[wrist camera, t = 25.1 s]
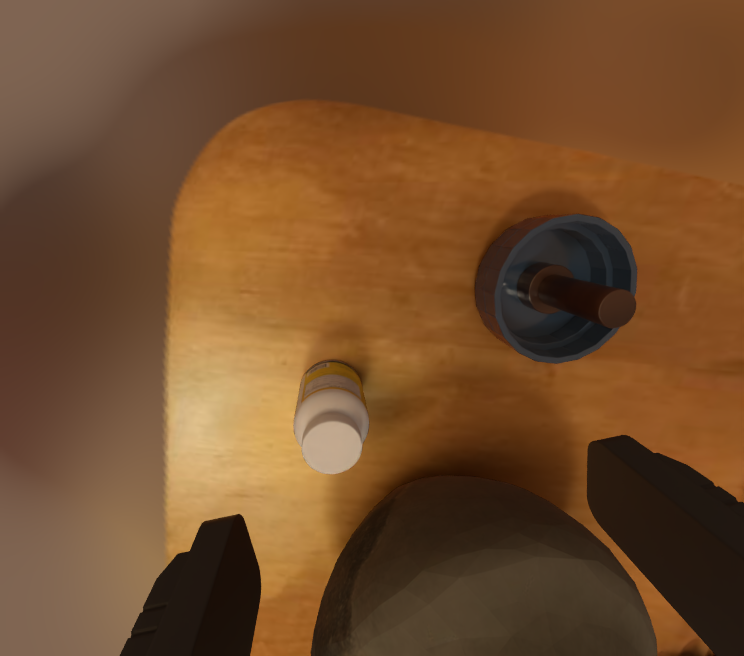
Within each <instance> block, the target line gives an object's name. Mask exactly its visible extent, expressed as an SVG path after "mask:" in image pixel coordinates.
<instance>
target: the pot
mask: <svg viewBox="0 0 744 656" xmlns="http://www.w3.org/2000/svg"><path fill="white" fill-rule="evenodd" d="M311 656H657V642H656V637H655V633H654V630H653V626H652V623H651V620H650V617H649V614H648V612H647V609H646V607H645V605H644V602H643V600H642V597H641V595H640V593H639V591H638V589H637V587H636V585H635V582H634V581H633V580H632V578H631V577H630V576H629V574H628V573H627V572H626V570H625V569H624V568H623V566H622V565H621V564H620V563H619V561H618V560H617V559H616V557H615V556H614V555H613V553H612V552H611V551H610V549H609V548H608V547H607V546H606V545H604V544H603V543H602V542H601V541H600V540H599V539H598V538H597V537H596V536H594V535H593V534H592V533H591V532H590V531H589V530H588V529H587V528H586V527H584V526H583V525H582V524H581V523H579V522H578V521H576V520H575V519H573V518H572V517H571V516H569V515H568V514H566V513H565V512H563V511H562V510H560V509H559V508H558V507H556V506H555V505H553V504H552V503H550V502H549V501H547V500H545V499H543V498H541V497H539V496H537V495H535V494H533V493H531V492H529V491H527V490H525V489H523V488H520V487H517V486H515V485H512V484H509V483H506V482H500V481H495V480H490V479H485V478H479V477H474V476H444V475H441V476H434V477H427V478H420V479H418V480H415V481H412V482H410V483H407V484H405V485H402V486H399V487H397V488H396V489H394V490H393V491H392V492H391V493H390V494H389V495H388V496H386V497H385V498H384V499H383V500H382V501H381V502H380V503H379V504H377V505H376V507H375V508H374V509H373V510H372V511H371V512H370V513H369V514H368V515H367V516H366V517H365V519H364V520H363V522H362V523H361V524H360V526H359V527H358V528H357V529H356V531H355V532H354V533H353V534H352V536H351V538H350V539H349V541H348V543H347V544H346V546H345V548H344V549H343V551H342V553H341V554H340V556H339V558H338V559H337V562H336V564H335V567H334V569H333V571H332V574H331V576H330V579H329V581H328V584H327V586H326V588H325V591H324V594H323V597H322V600H321V604H320V608H319V612H318V616H317V621H316V625H315V629H314V634H313V641H312V648H311Z"/></svg>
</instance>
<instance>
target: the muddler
mask: <svg viewBox="0 0 744 656" xmlns="http://www.w3.org/2000/svg"><path fill="white" fill-rule="evenodd" d="M517 294H518V297H519V299H520V301H521V302H522V303H523V304H524V305H525V306H527V307H529V308H531V309H533V310H536V311H538V312H541V313H544V314H553V313H556V312H559V311H561V310H562V311H565V312H568V313H570V314H573V315H576V316H578V317H581V318H584V319H586V320H589V321H592V322H594V323H597V324H600V325H602V326H605V327H608V328H618V327H621V326H623V325H625V324H626V323H628V322H629V321H630V319H631V318H632V317H633V315H634V313H635V309H636V301H635V298H634V296H633V295H632V294H631V293H630V292H629V291H627V290H624V289H619V288H615V287H610V286H606V285H601V284H597V283H592V282H588V281H584V280H579V279H575V278H574V276H573V274H572V273H571V271H570V270H569V269H567V268H566V267H564V266H561V265H556V264H550V263H544V262H541V263H535V264H533V265H531V266H529V267H528V268H527V269H525V270H524V271H523V273H522V274H521V276H520V277H519V280H518V283H517Z"/></svg>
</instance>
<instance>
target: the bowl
mask: <svg viewBox="0 0 744 656" xmlns="http://www.w3.org/2000/svg"><path fill="white" fill-rule="evenodd" d="M541 262H544V263H550V264H556V265H561V266H564V267H566V268H567V269H569V270H570V271H571V273H572V274H573V276H574V278H575V279H579V280H584V281H588V282H592V283H597V284H601V285H606V286H610V287H615V288H619V289H624V290H627V291H629V292H630V293H631V294H632V295H633V296H635V293H636V285H637V266H636V262H635V259H634V255H633V252H632V248H631V246H630V244H629V243H628V242H627V240H626V239H625V238H624V236H623V235H622V233H621V232H620V231H619V230H618V229H617V228H615V227H614V226H612V225H610V224H609V223H607V222H606V221H604V220H602V219H601V218H598V217H593V216H587V215H581V214H562V215H545V216H539V217H533V218H527V219H525V220H523V221H521V222H519V223H517V224H516V225H514V226H512V227H510V228H508V229H507V230H506V231H505V232H504V233H503V234H502V235H501V236H500V237H499V238H498V239H497V240H496V241H495V242H494V243H492V244H491V246H490V247H489V249H488V251H487V253H486V255H485V256H484V258H483V260H482V262H481V264H480V266H479V270H478V275H477V279H476V283H475V295H476V306H477V309H478V311H479V314H480V316H481V318H482V320H483V323H484V324H485V326H486V327H487V328H488V329H489V330H490V331H491V332H492V333H493V334H494V335H495V337H496V338H498V339H499V340H501V341H502V342H504V343H505V344H507V345H508V346H509V347H511V348H512V349H514V350H515V351H517V352H518V353H520V354H522V355H524V356H526V357H528V358H530V359H532V360H534V361H538V362H546V363H555V364H557V363H563V362H568V361H573V360H578V359H580V358H582V357H584V356H586V355H588V354H590V353H592V352H594V351H595V350H597V349H599V348H600V347H601V346H602V345H603V344H604V343H606V342H607V341H608V340H609V339H610V338H611V337H612V336H613V335H614V334H615V333H616V332H617V330H618V329H619V327H618V328H608V327H605V326H602V325H600V324H597V323H594V322H592V321H589V320H586V319H584V318H581V317H578V316H576V315H573V314H570V313H568V312H565V311H562V310H561V311H559V312H556V313H553V314H544V313H541V312H538V311H536V310H533V309H531V308H529V307H527V306H525V305H524V304H523V303H522V302H521V301H520V299H519V297H518V294H517V283H518V280H519V277H520V276H521V274H522V273H523V271H524V270H525V269H527V268H528V267H529V266H531V265H533V264H535V263H541Z"/></svg>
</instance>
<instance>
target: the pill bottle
mask: <svg viewBox="0 0 744 656" xmlns="http://www.w3.org/2000/svg"><path fill="white" fill-rule="evenodd" d="M368 429H369V417H368V411H367V407H366V402H365V397H364V393H363V388H362V384H361V380H360V378H359V376H358V374H357V372H356V371H355V370H354V369H353V368H352V367H351V366H349V365H348V364H346V363H344V362H341V361H337V360H326V361H322V362H319V363H317V364H315V365H314V366H312V367H311V368H310V369H309V370H308V371H307V372H306V373H305V375H304V376H303V378H302V381H301V384H300V389H299V395H298V400H297V406H296V411H295V417H294V434H295V437H296V439H297V442H298V443H299V445H300V446H301V447H302V454H303V457H304V459H305V461H306V463H307V464H308V465H309V466H310V467H311V468H312V469H314V470H316V471H318V472H320V473H324V474H337V473H341V472H344V471H346V470H348V469H349V468H351V467H352V466H353V465H354V464H355V463H356V462H357V461H358V459H359V457H360V455H361V452H362V444H363V442H364V440H365V438H366V436H367V434H368Z"/></svg>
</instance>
